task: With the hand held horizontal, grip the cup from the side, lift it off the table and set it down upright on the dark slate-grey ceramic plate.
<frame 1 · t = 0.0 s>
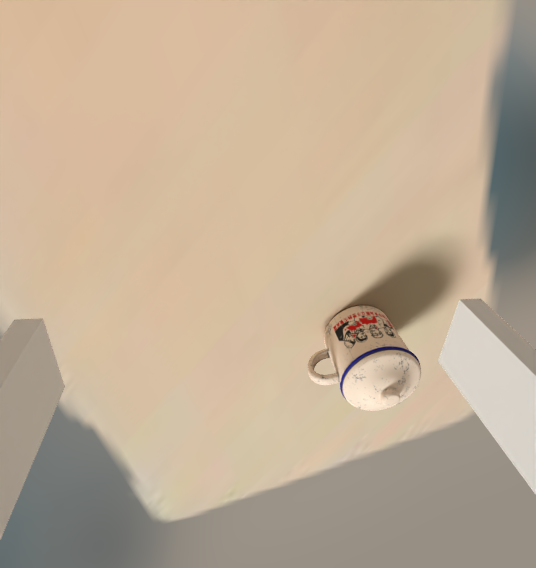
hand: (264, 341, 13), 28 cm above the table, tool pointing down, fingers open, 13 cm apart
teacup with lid: (344, 333, 50), on the table
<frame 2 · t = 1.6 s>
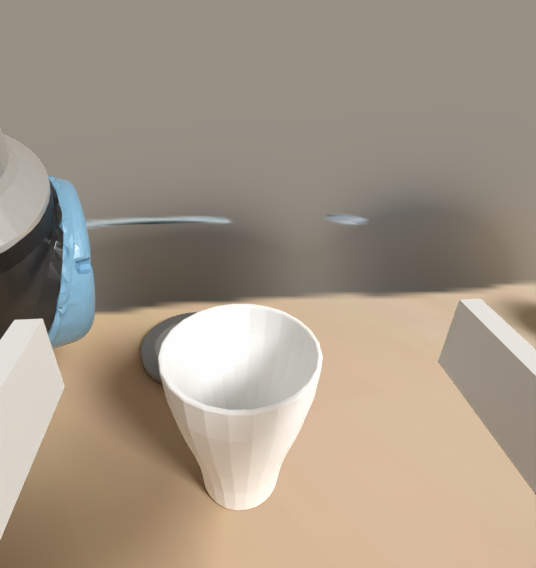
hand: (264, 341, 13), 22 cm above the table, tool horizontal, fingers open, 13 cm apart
plate: (196, 350, 45), on the table
cup: (240, 475, 32), on the table
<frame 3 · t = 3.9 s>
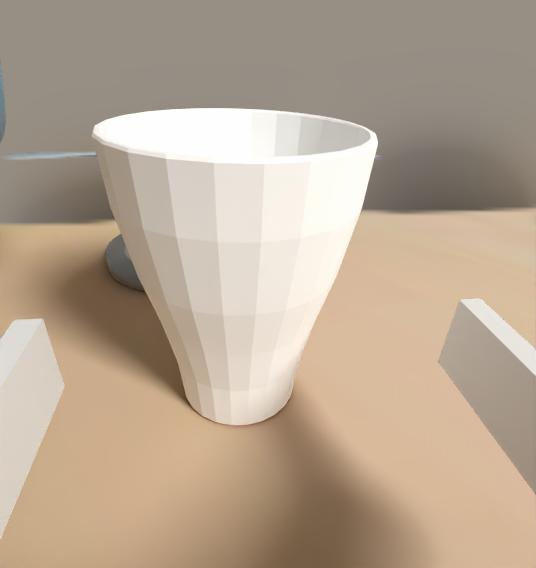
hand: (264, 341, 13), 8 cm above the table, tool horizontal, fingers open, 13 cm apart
plate: (180, 257, 34), on the table
cup: (239, 385, 22), on the table
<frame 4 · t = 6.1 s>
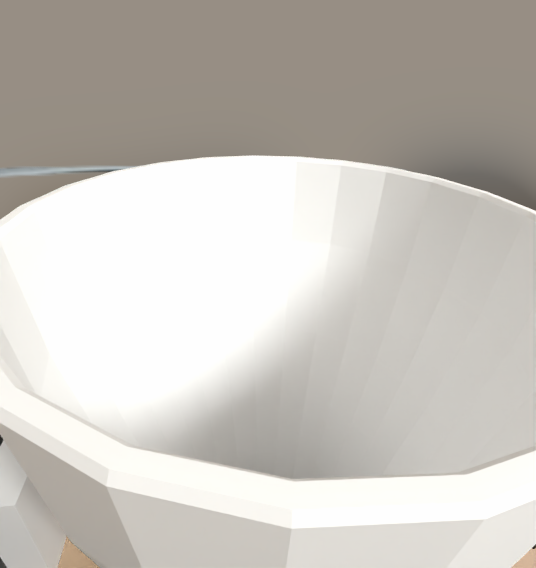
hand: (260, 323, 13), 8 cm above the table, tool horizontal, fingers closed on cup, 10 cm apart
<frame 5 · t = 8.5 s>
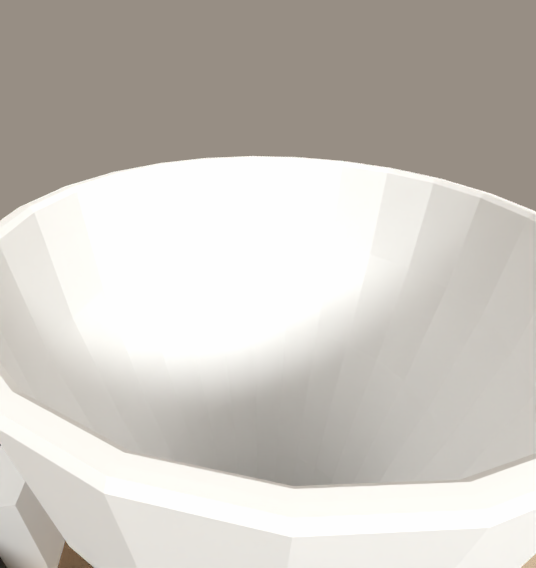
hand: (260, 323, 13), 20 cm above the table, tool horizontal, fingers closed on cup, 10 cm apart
when the fingers open (11 cm above the table, at t = 11.1 s): cup drops 1 cm, resting on plate.
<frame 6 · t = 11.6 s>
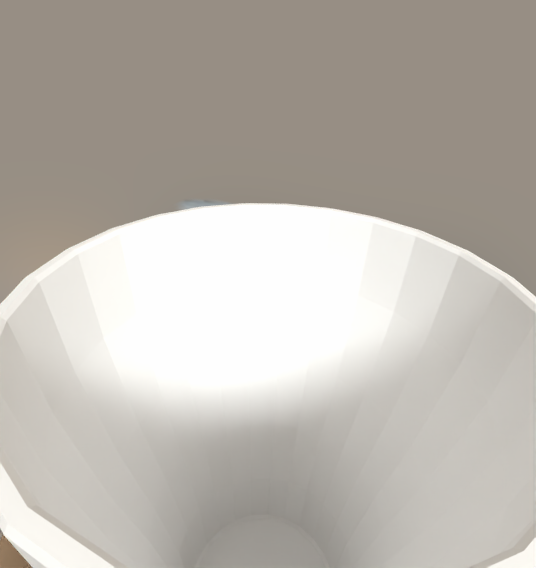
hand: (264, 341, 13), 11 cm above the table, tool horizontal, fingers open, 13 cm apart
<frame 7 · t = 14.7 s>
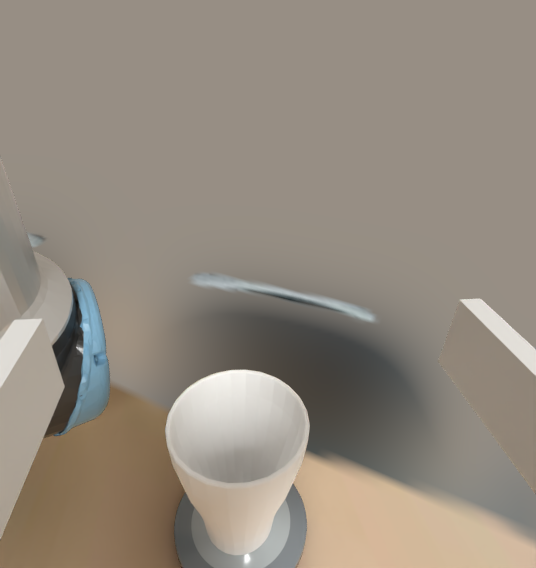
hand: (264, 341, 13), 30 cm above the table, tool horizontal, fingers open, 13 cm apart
plate: (241, 525, 36), on the table
cup: (239, 520, 36), point 1 cm above the table, touching plate
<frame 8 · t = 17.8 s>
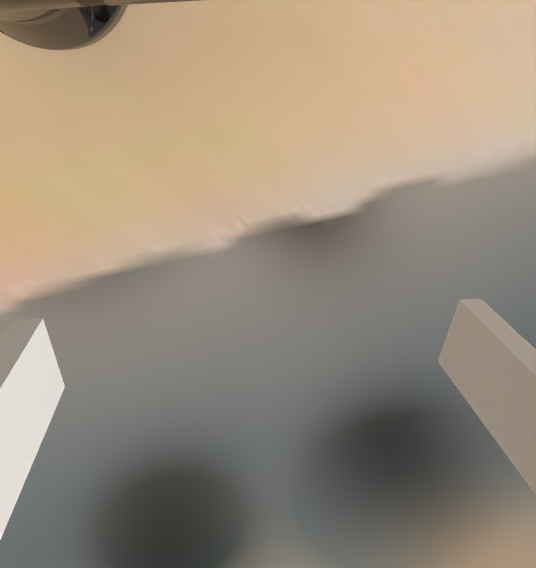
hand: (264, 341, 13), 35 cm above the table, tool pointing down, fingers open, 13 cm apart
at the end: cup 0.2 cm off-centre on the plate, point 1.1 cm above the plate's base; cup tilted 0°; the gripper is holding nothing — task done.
